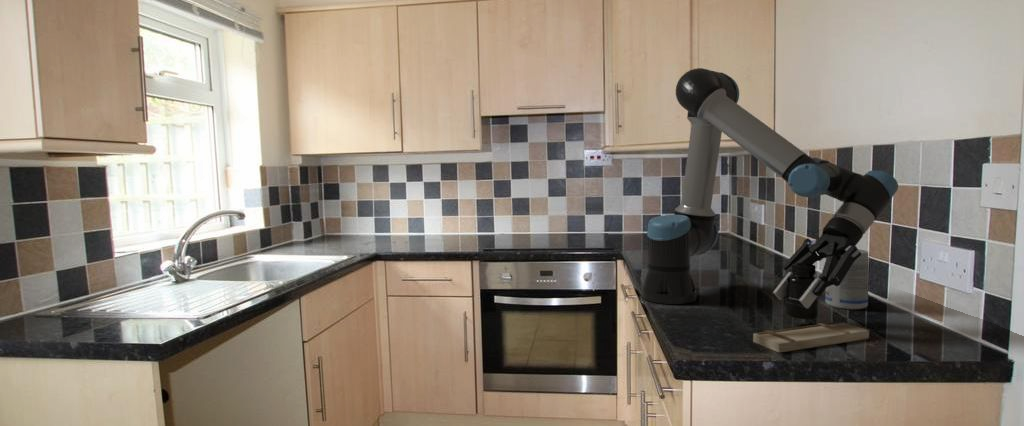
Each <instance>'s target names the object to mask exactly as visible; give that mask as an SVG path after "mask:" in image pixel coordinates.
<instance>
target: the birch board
mask: <svg viewBox="0 0 1024 426" xmlns="http://www.w3.org/2000/svg"><path fill="white" fill-rule="evenodd" d="M752 335H753V337H752V342H753V343H755V344H757V345H760V346H763V347H765V348H767V349H770V350H771V351H774V352H776V353H785V352H791V351H797V350H799V351H800V350H803V349H804V350H805V349H811V348H817V347H822V346H829V345H837V344H843V343H849V342H850V343H851V342H856V341H861V340H869V339H870V330H869V329H867V328H862V327H859V326H856V325H853V324H850V323H846V322H843V321H839V320H838V321H831V322H826V323H825V322H824V323H822V322H819V323H816V324H809V325H802V326H796V327H789V328H782V329H774V330H769V329H768V330H764V331H759V332H755V333H753V334H752Z"/></svg>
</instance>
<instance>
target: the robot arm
mask: <svg viewBox="0 0 1024 426" xmlns="http://www.w3.org/2000/svg"><path fill="white" fill-rule="evenodd" d="M675 86H676V87H675V98H676V100H677V102H678V104H679V105H680V106H681V107H682V108H683V109H685V110H686V111H687V116H686V119H687V121H688V122H690V124H691V127H690V133H689V134H690V135H689V142H688V149H687V156H686V164H685V173H684V179H683V185H682V195H681V202H680V204H678V205H679V206H677V207H676V208H675V209H674V214H665V215H658V216H655V217H652V218H651V219H649V221H648V224H647V229H646V230H647V231H646V238H647V272H646V273H645V277H644V281H643V284H642V286H641V295H640V296H641V298H642V299H643V300H646V301H647V302H652V303H656V304H666V305H683V304H690V303H694V302H696V301H697V290H696V286H695V283H694V280H693V276H692V275H691V257H694V256H699V255H703V254H705V253H707V252H709V251H710V250H712V249H713V247H715V245H716V243H717V241H718V238H719V228H718V225H717V224H716V223H715V218H716V213H715V212H714V210H713V208H712V203H713V195H714V189H715V181H716V175H717V167H718V161H719V155H720V147H721V142H722V141H721V139H722V135H723V134H724V135H726V137H727V138H730V139H731V140H732V141H733V142H734V143H736V144H737V145H738V146H740V147H741V148H742V149H743V150H745V151H746V152H748V153H749V155H751V156H753V157H754V158H755V159H757V160H758V161H759V162H760V163H762V164H763V165H764V166H765V167H767V168H769V170H771V171H772V172H774V173H775V174H776V175H777V176H779V177H780V178H781V179H783V180H784V181H785V182H786V183H788V187H789V188H790V190H791V191H792V192H793V193H794V194H795V195H797V196H799V197H800V196H801V197H804V198H815V197H819V196H823V195H825V196H828V197H830V198H832V199H835V200H838V201H839V202H842V204H841V205H840V206H839V207H838V209H837V210H836V212H834V213H833V216H832V218H830V219H829V220H828V222H827V223H826V224H825V226H824V227H823V229H822V234H821V235H820V236H819V237H817V239H816V240H810V239H811V238H809V237H808V238H805V239H803V242H802V244H801V245H800V246H799V248H798V249H797V250H796V251H795V252H794V253H793V254H792V256H790V257H789V258H788V260H787V261H786V262H785V263H784V264H783V265H782V269H783V270H784V271H785V272H786V273H785V274H784V275H783V277H782V278H781V279H780V281H779V284H778V285H777V286H776V288H775V289H774V290H773V292H772V294H773V295H774V296H775V297H776V298H777V299H778V300H779V301H782V300H783V299H784V298H785V296H786V279H787V277H788V276H789V275H791V274H792V272H791V270H792V264H794V263H805V264H812V265H814V264H816V262H820V261H822V260H823V259H825V262H824V265H823V268H822V271H821V274H820V275H818V277H816V279H815V280H814V281H813V283H812V284H811V285H810V286H809V288H808V289H807V290H806V292H805V293H804V294H803V295H802V297H801V298H800V299H799V301H800V302H801V303H802V304H803V306H804V307H805V308H809V307H810V306H811V304H812V303H813V302H814V300H815V299H816V298H817V296H819V297H821V296H822V295H823V294H824V292H825V289H826V288H827V287H828V286H830V285H835V286H839V285H840V284H841V282H842V280H843V279H844V277H845V276H846V274H847V272H848V271H849V269H850V267H851V266H852V264H853V263H854V261H855V260H856V259H857V258H858V257H859V256H861V252H860V251H859V250H858V247H857V244H859V242H860V240H861V239H862V238H863V235H865V234H866V233H867V231H868V230H869V228H870V227H871V226H872V225H873V223H874V222H875V221H876V220H877V218H878V217H879V216H880V214H881V213H882V212H883V211H884V210H885V209H886V207H887V205H888V204H890V203H891V200H892V198H893V197H894V196H895V194H897V191H898V190H899V183H898V181H897V179H896V178H895V177H894V176H892V174H889V173H888V172H886V171H884V170H875V169H874V170H869V171H867V172H866V173H865V174H863V175H862V174H860V173H857V172H854V171H851V170H850V169H847V168H845V167H842V166H840V165H837V164H834V163H832V162H830V160H824V159H823V158H819V157H811V156H809V155H808V154H807V153H806V152H804V151H802V150H801V149H800V148H799V147H798V146H796V145H794V144H793V143H792V142H790V141H789V140H787V139H786V138H785V137H783V136H782V135H781V134H779V133H778V132H777V131H776V130H774V129H773V128H771V127H770V126H768V125H767V124H765V123H764V122H763V121H761V120H760V119H758V117H756V116H754V115H753V114H752V113H751V112H749V111H748V110H746V109H745V108H744V107H742V106H741V105H739V104H738V103H739V99H740V89H739V86H738V84H737V82H736V81H735V79H734V78H732V76H729V75H728V74H726V73H723V72H721V71H720V72H719V71H715V70H710V69H708V68H703V67H700V68H699V67H697V68H693V69H690V70H688V71H686V72H685V73H684V74H682V75H681V77H680V78H679V79H678V81H677V83H676V85H675ZM722 133H723V134H722ZM826 258H827V259H826ZM836 277H837V278H836ZM817 278H818V279H817Z"/></svg>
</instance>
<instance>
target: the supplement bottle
mask: <svg viewBox="0 0 1024 426" xmlns="http://www.w3.org/2000/svg"><path fill="white" fill-rule="evenodd" d="M791 272H792V274H791V275H789V276H788V277H787V279H786V295H785V297H784V298H785V299H784V313H785V315H786V316H789V317H791V318H793V319H794V318H795V319H799V320H815V319H817V318H818V317H819V308H820V307H819V305H820V296H817V298H816V299H815V300H814V302H813V303H812V304H811V306H810V307H809V308H805V307H804V306H803V304H802V303H801V302H800V301H799V299H800V298H801V297H802V295H803V294H804V293H805V292H806V290H807V289H808V288H809V286H810V285H811V284H812V283H813V281H814V280H815V279H816V278H817V279H819V277H817V276H815V275H816V274H817V273H816V272H817V271H816V265H814V264H813V265H812V264H805V263H794V264H792V270H791Z"/></svg>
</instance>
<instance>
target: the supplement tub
mask: <svg viewBox="0 0 1024 426" xmlns="http://www.w3.org/2000/svg"><path fill="white" fill-rule="evenodd" d="M858 250H859V251H860V252H861V256H859V257H858V258H857V259H856V260H855V261H854V263H853V264H852V266H851V267H850V269H849V271H848V272H847V274H846V276H845V277H844V279H843V280H842V282H841V284H840V285H839V286H835V285H830V286H828V287H827V288H826V289H825V291H824V292H825V295H824V297H825V298H824V299H825V300H824V301H825V303H826V304H827V305H828V306H831V307H834V308H836V309H837V308H838V309H847V310H862V309H865V308H867V307H868V306H869V276H870V275H869V270H870V269H869V267H870V265H869V264H870V263H869V262H870V259H869V258H870V257H869V251H867V250H865V249H858ZM826 259H827V258H825V260H826ZM836 278H837V277H836Z"/></svg>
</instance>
